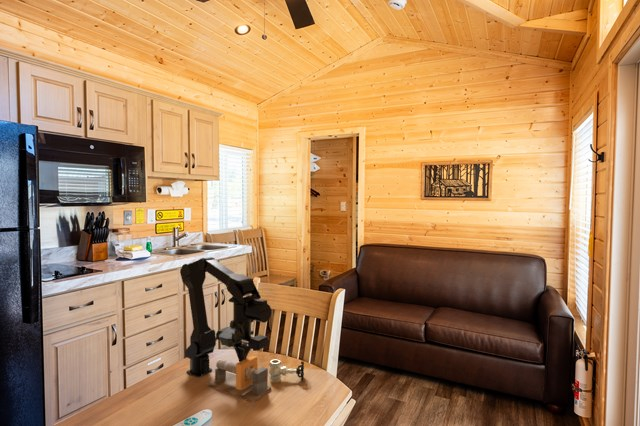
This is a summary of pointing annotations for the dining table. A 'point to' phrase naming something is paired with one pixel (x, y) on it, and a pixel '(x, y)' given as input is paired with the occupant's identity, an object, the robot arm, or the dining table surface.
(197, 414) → the dining table surface
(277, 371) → the valve
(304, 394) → the dining table surface
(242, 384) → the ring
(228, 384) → the pipe stand
